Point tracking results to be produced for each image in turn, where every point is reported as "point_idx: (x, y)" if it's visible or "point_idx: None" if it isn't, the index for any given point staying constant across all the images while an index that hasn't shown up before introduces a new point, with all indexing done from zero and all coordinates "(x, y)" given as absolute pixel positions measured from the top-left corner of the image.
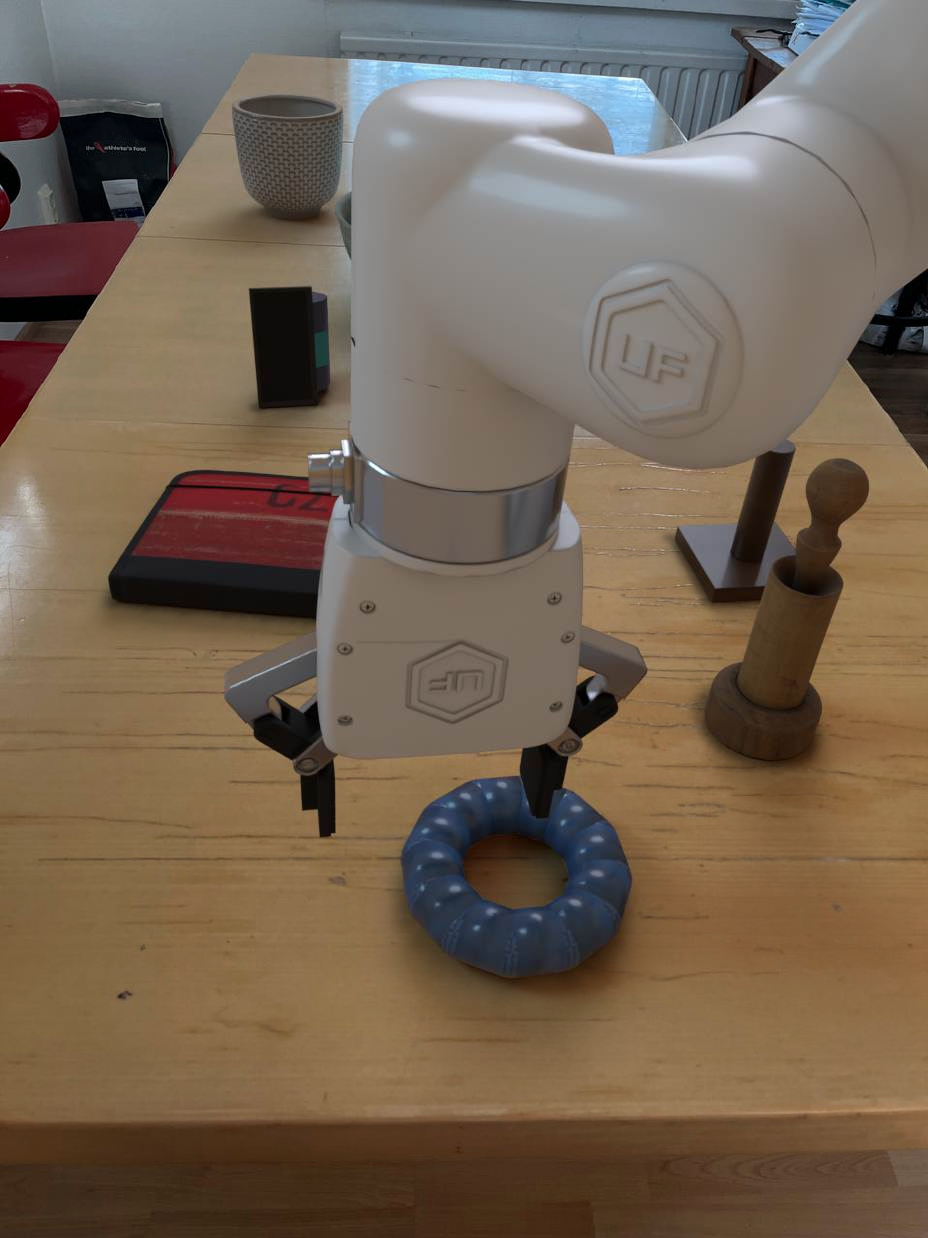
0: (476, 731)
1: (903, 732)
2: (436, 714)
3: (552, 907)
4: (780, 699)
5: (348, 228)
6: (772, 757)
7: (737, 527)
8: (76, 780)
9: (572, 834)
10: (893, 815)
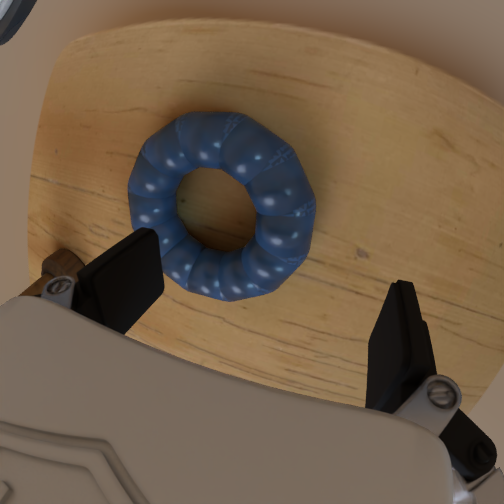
0: (77, 384)
1: (31, 245)
2: (129, 500)
3: (184, 158)
4: (46, 279)
5: None
6: (66, 251)
7: None
8: (475, 368)
9: (158, 226)
10: (34, 202)
